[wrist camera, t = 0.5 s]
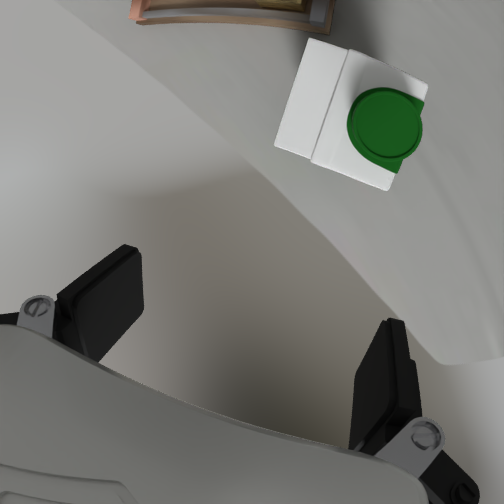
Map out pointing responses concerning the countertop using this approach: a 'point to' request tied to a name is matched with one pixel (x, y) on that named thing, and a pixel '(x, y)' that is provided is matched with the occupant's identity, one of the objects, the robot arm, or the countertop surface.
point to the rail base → (234, 13)
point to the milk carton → (352, 114)
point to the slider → (283, 4)
